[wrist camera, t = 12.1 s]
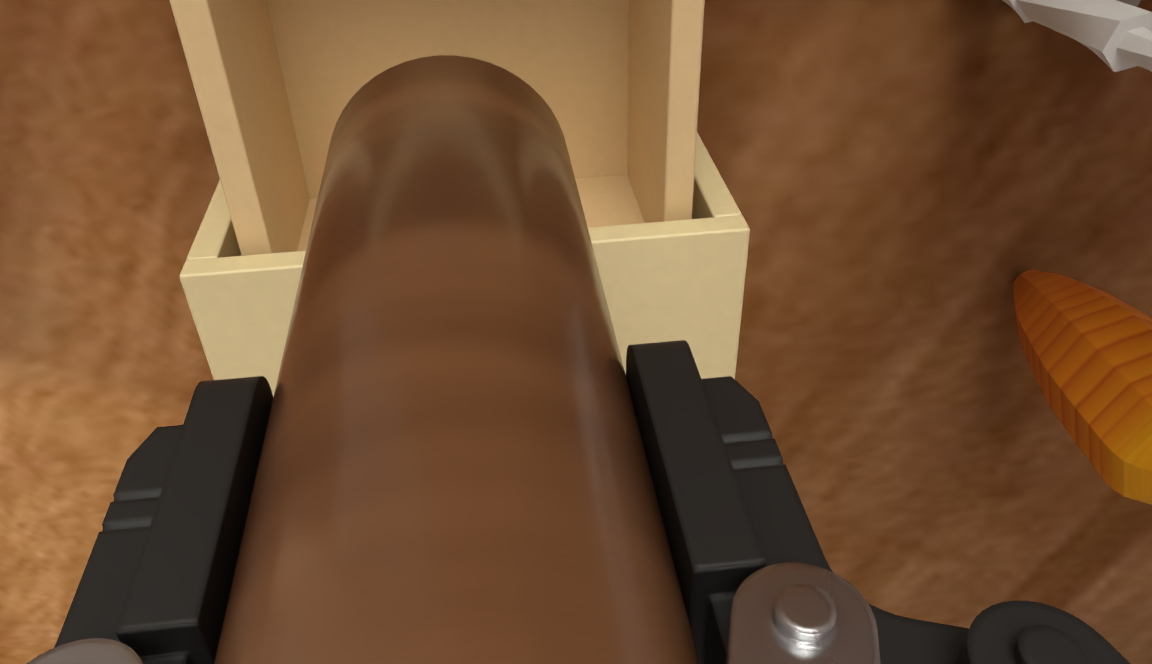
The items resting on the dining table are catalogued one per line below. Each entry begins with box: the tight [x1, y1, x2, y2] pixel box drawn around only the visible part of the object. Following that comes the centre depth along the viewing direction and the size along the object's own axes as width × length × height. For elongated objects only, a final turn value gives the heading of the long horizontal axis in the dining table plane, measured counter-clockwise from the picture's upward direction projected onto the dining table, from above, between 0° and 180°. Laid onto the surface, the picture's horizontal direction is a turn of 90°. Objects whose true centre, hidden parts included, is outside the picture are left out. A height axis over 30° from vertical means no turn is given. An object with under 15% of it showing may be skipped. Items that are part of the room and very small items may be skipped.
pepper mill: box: [214, 55, 700, 664], centre depth 12 cm, size 4×4×13 cm
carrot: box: [1013, 270, 1152, 505], centre depth 32 cm, size 5×5×15 cm
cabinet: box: [180, 133, 750, 397], centre depth 31 cm, size 15×15×9 cm
